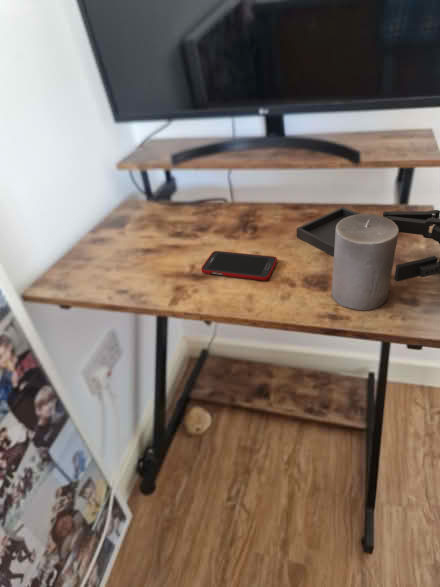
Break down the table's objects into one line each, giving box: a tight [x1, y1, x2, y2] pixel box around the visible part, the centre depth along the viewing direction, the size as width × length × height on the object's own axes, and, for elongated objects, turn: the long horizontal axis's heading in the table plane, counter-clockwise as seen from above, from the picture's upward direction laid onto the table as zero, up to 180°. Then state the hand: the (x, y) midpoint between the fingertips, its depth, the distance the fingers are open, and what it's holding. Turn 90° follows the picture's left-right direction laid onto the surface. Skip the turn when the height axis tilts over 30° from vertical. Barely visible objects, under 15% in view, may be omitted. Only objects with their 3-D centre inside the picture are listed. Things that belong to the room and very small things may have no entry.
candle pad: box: [296, 206, 360, 258], centre depth 88 cm, size 14×14×2 cm
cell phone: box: [200, 250, 278, 281], centre depth 84 cm, size 8×15×1 cm, turn 69°
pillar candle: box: [331, 213, 399, 312], centre depth 68 cm, size 10×10×15 cm
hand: (373, 252), depth 68 cm, fingers open, 13 cm apart
